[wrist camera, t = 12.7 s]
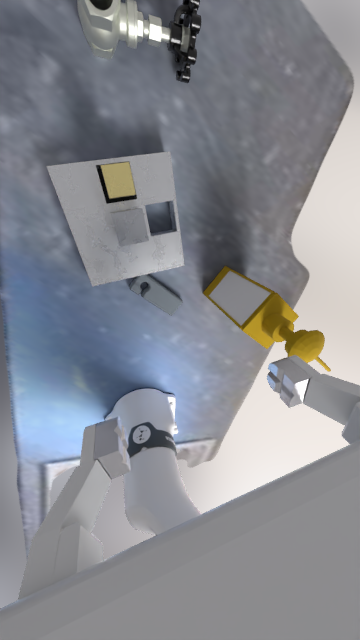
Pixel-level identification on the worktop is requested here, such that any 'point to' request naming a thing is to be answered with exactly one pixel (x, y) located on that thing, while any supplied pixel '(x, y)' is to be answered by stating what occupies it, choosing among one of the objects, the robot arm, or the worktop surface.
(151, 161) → the square plinth with cube
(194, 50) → the valve
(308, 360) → the soap bottle
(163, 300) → the bracket
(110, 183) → the yellow rectangular block
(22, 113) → the worktop surface
